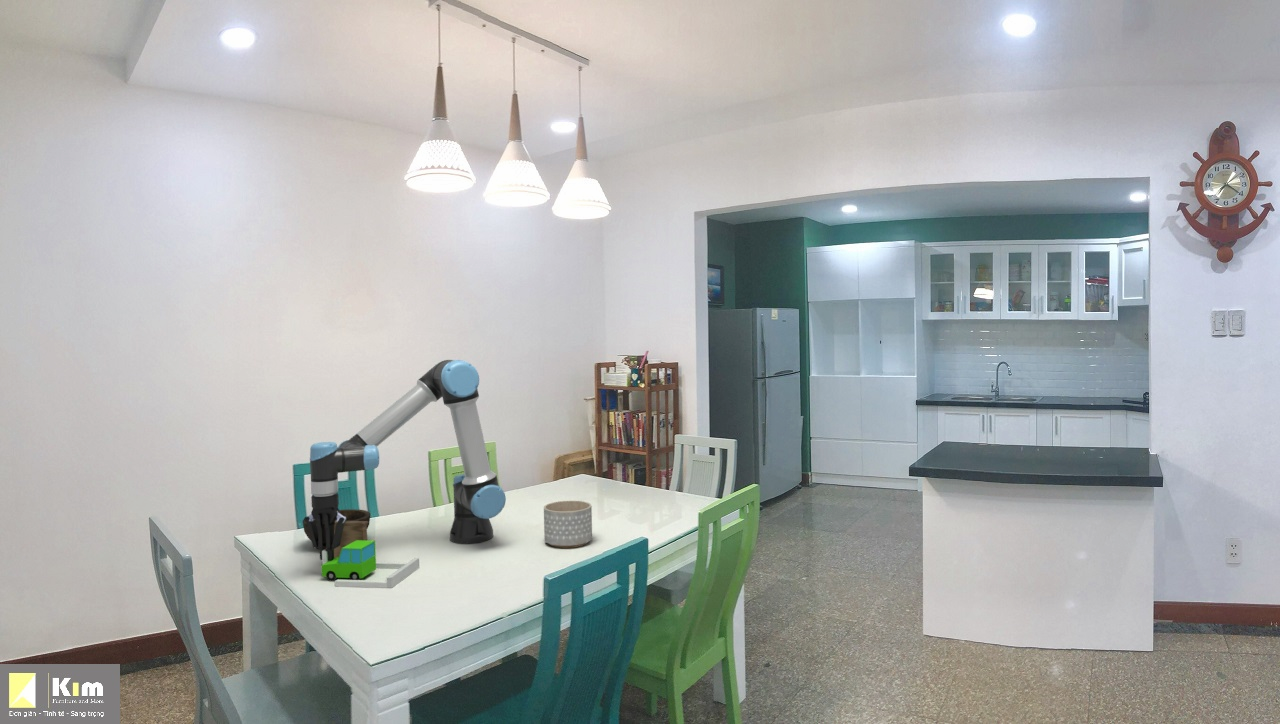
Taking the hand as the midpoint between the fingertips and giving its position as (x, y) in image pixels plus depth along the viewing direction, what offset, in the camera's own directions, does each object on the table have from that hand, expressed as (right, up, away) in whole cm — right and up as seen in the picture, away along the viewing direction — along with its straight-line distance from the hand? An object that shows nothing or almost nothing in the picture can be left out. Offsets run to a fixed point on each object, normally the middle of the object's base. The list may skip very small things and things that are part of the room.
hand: (327, 570), depth 216 cm
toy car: (+7, -2, -2) cm, 8 cm away
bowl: (-10, -1, +32) cm, 33 cm away
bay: (+16, -1, -2) cm, 16 cm away
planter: (+70, +1, +30) cm, 76 cm away
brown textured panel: (+1, -1, +10) cm, 10 cm away
